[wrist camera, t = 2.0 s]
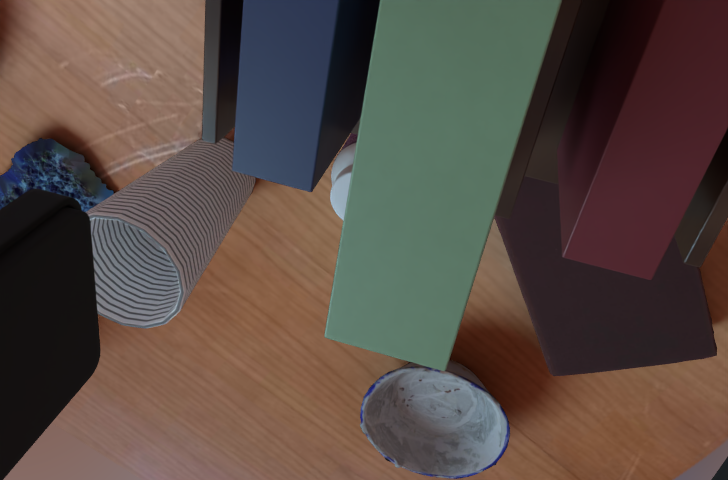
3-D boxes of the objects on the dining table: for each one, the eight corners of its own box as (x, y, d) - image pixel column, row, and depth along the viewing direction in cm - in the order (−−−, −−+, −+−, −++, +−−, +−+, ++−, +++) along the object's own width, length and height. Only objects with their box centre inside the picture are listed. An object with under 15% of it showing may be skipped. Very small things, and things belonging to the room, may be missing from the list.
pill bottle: (340, 138, 50) (301, 196, 42) (387, 91, 47) (355, 143, 39) (392, 186, 51) (363, 252, 43) (440, 142, 48) (420, 203, 40)
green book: (471, -120, 23) (390, -73, 11) (557, -103, 23) (574, -35, 10) (419, 117, 28) (322, 338, 16) (489, 134, 28) (446, 372, 15)
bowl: (489, 456, 63) (486, 498, 59) (361, 417, 64) (349, 456, 60) (530, 359, 56) (529, 399, 52) (385, 318, 57) (373, 354, 53)
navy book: (338, -145, 24) (251, -139, 17) (412, -129, 24) (356, -115, 16) (307, 90, 29) (231, 171, 22) (369, 105, 28) (311, 193, 21)
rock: (49, 119, 54) (34, 128, 53) (196, 264, 59) (186, 276, 58) (-27, 205, 62) (-42, 215, 60) (109, 328, 67) (98, 340, 65)
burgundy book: (639, -83, 23) (683, -49, 16) (721, -67, 22) (804, -23, 15) (556, 150, 28) (561, 257, 21) (623, 167, 27) (651, 281, 20)
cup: (172, 200, 56) (62, 308, 43) (174, 107, 51) (51, 197, 39) (266, 226, 55) (182, 344, 42) (276, 135, 51) (185, 236, 38)
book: (549, 355, 55) (549, 381, 53) (478, 152, 48) (474, 171, 45) (712, 329, 51) (721, 356, 48) (663, 99, 43) (671, 117, 40)
